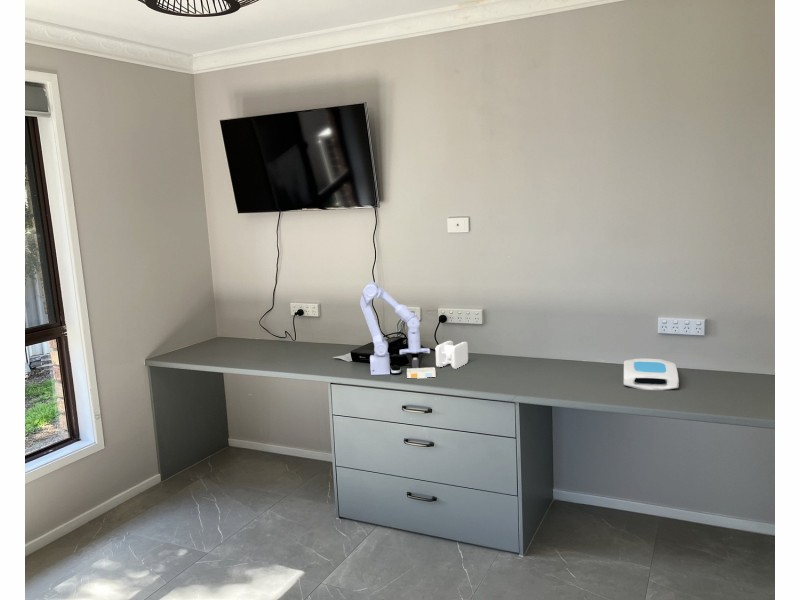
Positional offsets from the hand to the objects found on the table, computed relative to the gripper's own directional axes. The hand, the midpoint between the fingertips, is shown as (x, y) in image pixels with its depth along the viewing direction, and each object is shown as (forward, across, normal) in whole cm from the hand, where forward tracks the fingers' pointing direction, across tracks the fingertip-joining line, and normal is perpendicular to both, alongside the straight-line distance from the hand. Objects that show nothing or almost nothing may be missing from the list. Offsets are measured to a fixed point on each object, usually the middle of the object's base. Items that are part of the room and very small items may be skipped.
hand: (415, 367), depth 304 cm
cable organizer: (+2, +18, +6) cm, 19 cm away
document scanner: (+2, +101, -30) cm, 105 cm away
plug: (+2, 0, 0) cm, 2 cm away
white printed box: (+2, +3, -9) cm, 10 cm away
